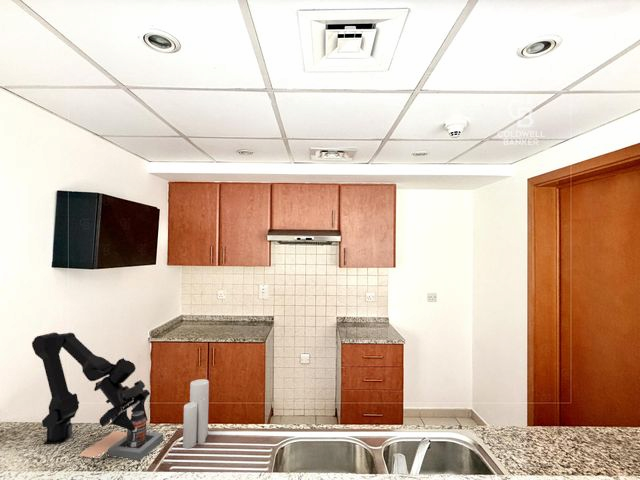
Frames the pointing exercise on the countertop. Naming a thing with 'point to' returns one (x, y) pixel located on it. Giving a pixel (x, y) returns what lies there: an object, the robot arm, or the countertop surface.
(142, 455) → the filter housing collar
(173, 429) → the countertop surface
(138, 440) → the supplement bottle
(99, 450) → the terracotta mat
